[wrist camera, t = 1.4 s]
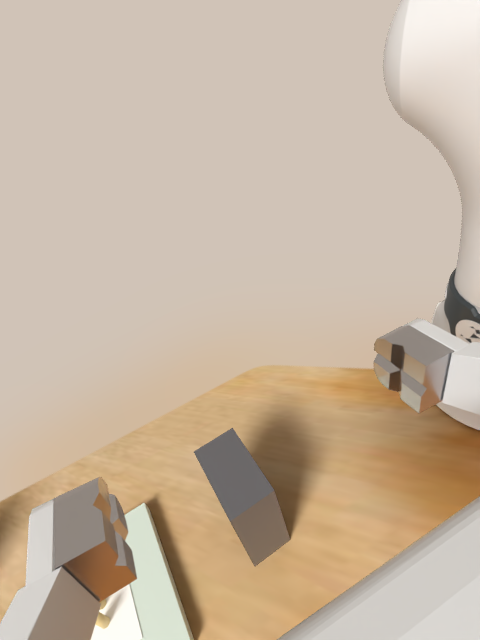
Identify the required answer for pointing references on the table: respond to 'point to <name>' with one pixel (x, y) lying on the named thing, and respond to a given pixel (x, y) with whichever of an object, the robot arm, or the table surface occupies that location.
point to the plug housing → (244, 495)
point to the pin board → (144, 592)
